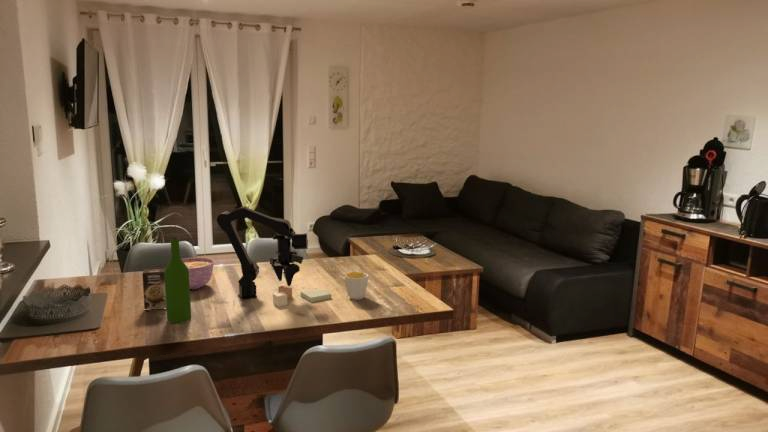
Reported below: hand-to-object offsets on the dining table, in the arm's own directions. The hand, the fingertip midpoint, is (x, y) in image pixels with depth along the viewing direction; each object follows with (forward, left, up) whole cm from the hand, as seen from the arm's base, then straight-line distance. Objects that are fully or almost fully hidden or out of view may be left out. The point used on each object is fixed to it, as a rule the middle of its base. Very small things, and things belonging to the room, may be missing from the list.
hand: (284, 283), depth 258 cm
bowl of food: (-30, +36, -6) cm, 47 cm away
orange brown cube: (0, 0, -6) cm, 6 cm away
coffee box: (-51, +15, -6) cm, 53 cm away
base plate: (+11, -8, -6) cm, 15 cm away
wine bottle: (-47, -4, -6) cm, 48 cm away
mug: (+26, -17, -6) cm, 32 cm away
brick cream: (-6, -8, -6) cm, 12 cm away
